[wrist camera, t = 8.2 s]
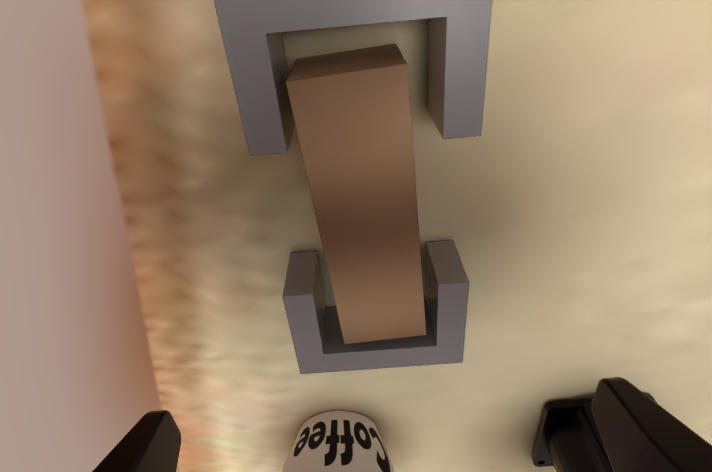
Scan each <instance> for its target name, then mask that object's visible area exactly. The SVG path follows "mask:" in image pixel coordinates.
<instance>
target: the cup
mask: <svg viewBox="0 0 712 472" xmlns="http://www.w3.org/2000/svg"><path fill="white" fill-rule="evenodd" d="M282 472H394V470H393V466H392V464H391V461H390V459H389V456H388V454H387V452H386V449H385V447H384V444H383V442H382V439H381V437H380V434H379V432H378V429H377V427H376V425H375V424H374V423H373V422H372V421H371V420H370V419H368V418H367V417H365V416H363V415H361V414H358V413H354V412H349V411H330V412H324V413H321V414H318V415H315V416H313V417H311V418H310V419H308V420H307V421H306V422H305V423H304V424H303V425H302V427H301V429H300V431H299V433H298V435H297V438H296V440H295V442H294V445H293V447H292V449H291V451H290V454H289V456H288V458H287V461H286V463H285V465H284V468H283V471H282Z"/></svg>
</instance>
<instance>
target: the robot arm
mask: <svg viewBox="0 0 712 472" xmlns="http://www.w3.org/2000/svg"><path fill="white" fill-rule="evenodd" d="M180 445H181V433H180V430H179V429H178V427H177V425H176V423H175V421H174V419H173V417H172V415H171V414H170V412H169V411H167V410H161V411H151V412H148V413H146V414H145V415H144V416H143V417H142V418H141V419H140V420H139V421H138V422H137V424H136V425H135V426H134V427H133V428H132V429H131V430H130V431H129V432H128V433H127V434H126V435H125V437H124V438H123V439H122V440H121V441H120V442H119V443H118V444H117V445H116V446H115V447H114V449H113V450H112V451H111V452H110V453H109V454H108V455H107V456H106V457H105V458H104V459H103V461H102V462H101V463H100V464H99V465H98V466H97V467H96V468H95V469H94V470H93V471H92V472H176V468H177V462H178V457H179V451H180ZM532 461H533V463H534V465H535V466H538V467H542V466H554V467H555V469H556V472H712V445H710V444H709V443H708V442H707V441H705V440H704V439H703V438H701V437H700V436H699V435H697V434H696V433H695V432H694V431H692V430H691V429H690V428H688V427H687V426H686V425H684V424H683V423H682V422H681V421H679V420H678V419H677V418H675V417H674V416H673V415H671V414H670V413H669V412H667V411H666V410H665V409H664V408H662V407H661V406H660V405H658V404H657V402H656V401H655V399H654V398H653V397H652V396H649V395H645V394H644V393H643V392H641V391H640V390H639V389H638V388H636V387H635V386H634V385H632V384H631V383H630V382H628V381H627V380H625V379H623V378H620V377H614V378H603V379H601V380H600V381H599V383H598V386H597V389H596V392H595V394H594V397H593V399H588V400H573V401H559V402H551V403H548V404H547V405H546V406H545V408H544V412H543V415H542V419H541V423H540V427H539V431H538V435H537V438H536V442H535V446H534V450H533V454H532Z"/></svg>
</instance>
